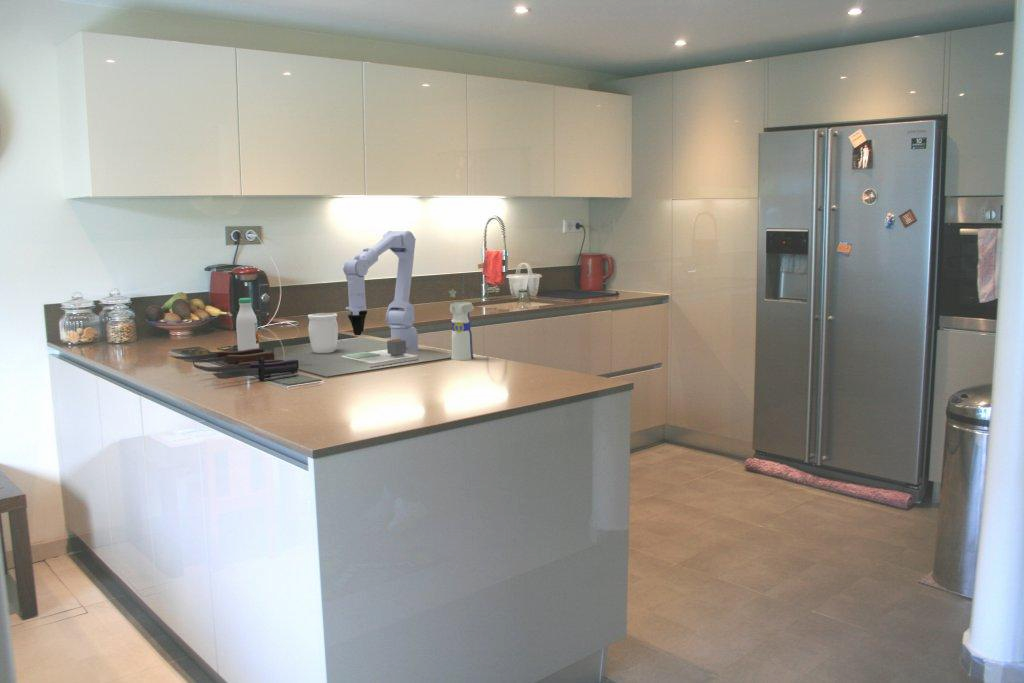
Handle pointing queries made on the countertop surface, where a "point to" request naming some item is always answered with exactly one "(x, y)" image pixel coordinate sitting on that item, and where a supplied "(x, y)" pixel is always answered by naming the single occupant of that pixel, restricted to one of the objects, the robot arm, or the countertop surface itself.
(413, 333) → the robot arm
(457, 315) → the white spray bottle
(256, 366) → the knife set
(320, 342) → the jar
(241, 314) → the milk bottle
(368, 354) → the pad
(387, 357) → the mount board
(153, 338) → the countertop surface
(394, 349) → the gray handled box
